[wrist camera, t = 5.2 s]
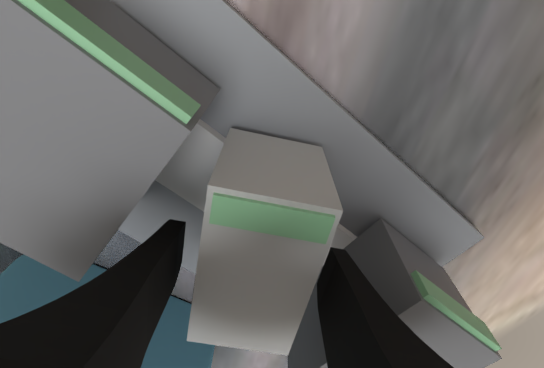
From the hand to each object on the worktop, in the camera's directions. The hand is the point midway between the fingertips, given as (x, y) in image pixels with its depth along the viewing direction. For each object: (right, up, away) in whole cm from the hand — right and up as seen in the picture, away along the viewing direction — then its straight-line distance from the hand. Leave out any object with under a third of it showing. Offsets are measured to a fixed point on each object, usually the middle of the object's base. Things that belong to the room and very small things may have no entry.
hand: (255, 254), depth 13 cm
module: (0, +2, +3) cm, 3 cm away
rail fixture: (0, +2, +4) cm, 5 cm away
